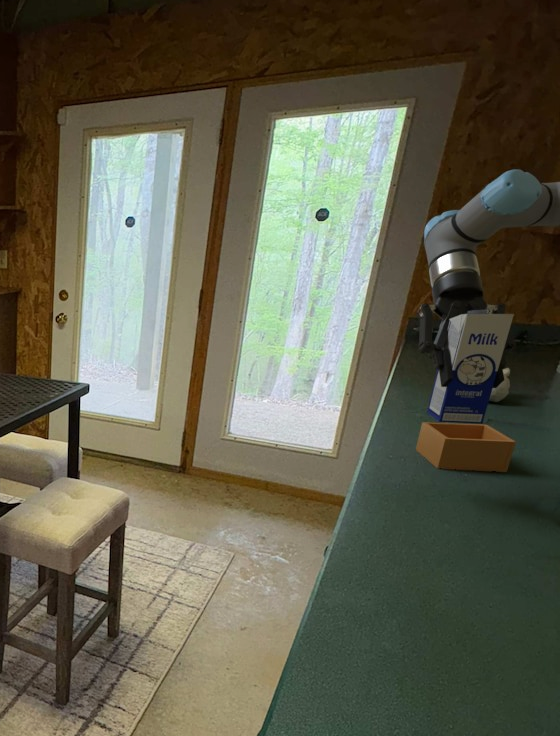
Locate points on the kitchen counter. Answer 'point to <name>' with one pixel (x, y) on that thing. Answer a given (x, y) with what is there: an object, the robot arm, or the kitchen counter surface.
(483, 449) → the bin
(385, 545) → the kitchen counter surface
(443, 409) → the milk carton
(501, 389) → the white lumpy piece
